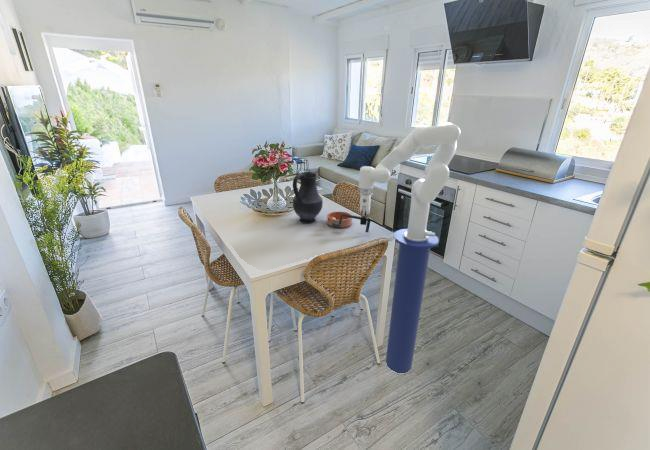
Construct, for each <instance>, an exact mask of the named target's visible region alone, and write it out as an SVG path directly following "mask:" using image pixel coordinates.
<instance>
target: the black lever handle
mask: <svg viewBox="0 0 650 450" xmlns="http://www.w3.org/2000/svg"><path fill="white" fill-rule="evenodd" d="M342 216H343V217H349V218H352V219H356V220H359V221H360V220H361V216H360V215H353V214H351V215H348V214H341V215H340V222H337V221H334V222H332V226H331V227H333V228H335V229H336V228H337V229H338V228H339V227H340V226H341V221H342ZM371 222H372V223H373V218H371V217H367V223H366V225H365V233H367V234H368V233H369V232H370V231H369V230H370V227H371ZM339 229H340V228H339Z"/></svg>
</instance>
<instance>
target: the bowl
mask: <svg viewBox="0 0 650 450" xmlns="http://www.w3.org/2000/svg"><path fill="white" fill-rule="evenodd" d="M341 214H348V215H352V213H350V212H347V211H332V212H329V213H327V215H326V223H327V225H328V226H330V227H333V226H332V222H334V221H337V222H340V215H341ZM332 218H335V219H332ZM352 224H353V218H349V217H343V216H342V221H341V226H340V227H339V229H341V228H343V229H344V228H347V227H350V226H352Z"/></svg>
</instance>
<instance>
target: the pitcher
mask: <svg viewBox="0 0 650 450" xmlns="http://www.w3.org/2000/svg"><path fill="white" fill-rule="evenodd" d="M318 176H319V173H317V172H314V171H302V172H299V173H297V174H296V175H295V176H294V178H293V181H292V189H293V193H294V197H293V198H292V207H293V210H294V213H295V214H296V216H298V217H299V222H300V223H303V224H313V223H315V222H316V220H317V219H316V217H317V216H318V215H319V214H320V213H321V212H322V209H323V204H324V203H323V202H324V201H323V198H322V197H321V195H320V194H319V191H318V187H317V178H318ZM299 180H300V186H299V188H298V181H299Z"/></svg>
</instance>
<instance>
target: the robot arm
mask: <svg viewBox="0 0 650 450" xmlns="http://www.w3.org/2000/svg"><path fill="white" fill-rule="evenodd" d="M461 132H462V131H461V128H460V127H459V126H458V125H457V124H455V123H451V122H447V121H446V122H441V123H440V124H438V125H431V126H428V125H424V124H419V125H417V126H415V127H414V128H413V129H412V131H410V132H409V134H408V135H407V136H405V138H404V139H403V140H402V141H401V142H400V143H399V144H398V145H397V146H396V147H395V148H394V149H393V150H391V151H390V152H389V153H388V154H387V155H386V156H384V157H383V158H382V160H380V161H379V162H378V164H377V165H376V166H375V167H373V166H368V165H363V166H361V167H360V168H359V176H358V177H359V178H358V193H357V194H358V195H360V198H359V213H360V217H361V220H360V219H359V221H360V222H359V224H360V225H361V226H367V218H368V215H369V214H370V212H371V202H372V201H371V200H372V196H373V195H374V187H375V186H374V185H375V183H378V184H387V183H388V182H389V181H390V180H391V177H392V176H391V175H392V174H391V172H392V171H393V170H394V169H395V168H396V167H397V166H398V165H399V164H401V163H403V162H406V161H409V160H410V159H411V158H412V157H413V156H414V155H415V154H416V153H417V152H418V151H419V150H420V149H421V148H422V147H424V146H425V147H429V146H437V148H436V150H435V152H434V153H433V155H432V156H431V158H430V160H429V161H428V163H427V164H426V165H425V168H424V174H425V176H426V177H424V178H419V179H417V180H415V181H414V182H413V183H412V186H411V190H410V191H411V192H410V193H411V194H410V195H411V196H410V208H409V214H408V222H407V223H408V224H407V229H408V230H407V232H405V233H404V237H405V238H406V239H408V240H411V241H415V242H423V241H426V240H428V236H435V235H436V232H433V231H432V230H430V231H429V230H427V229H428V228H427V227H428V221H429V213H430V207H431V203H432V202H434V201H435V199H436V198H437V197H438V196H439V195H440V193H441V191H442V190H443V188H444V186H446V184H447V182H448V180H449V178H450V169H449V167H448V166H449V165H450V163H451V161H452V160H453V158H454V156H455V155H456V154H455V153H456V151H457V147H458V146H457V145H458V140H459V139H460V136H461Z"/></svg>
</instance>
